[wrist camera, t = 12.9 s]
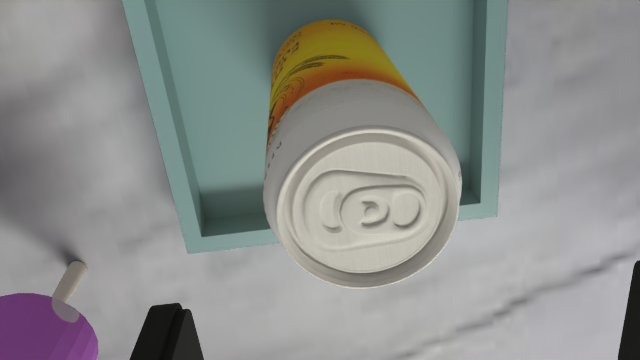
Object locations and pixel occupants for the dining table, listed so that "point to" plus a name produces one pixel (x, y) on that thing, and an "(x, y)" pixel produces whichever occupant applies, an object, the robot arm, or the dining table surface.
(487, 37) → the tray
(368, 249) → the beer can
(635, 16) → the dining table surface
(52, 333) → the toy
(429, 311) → the dining table surface
